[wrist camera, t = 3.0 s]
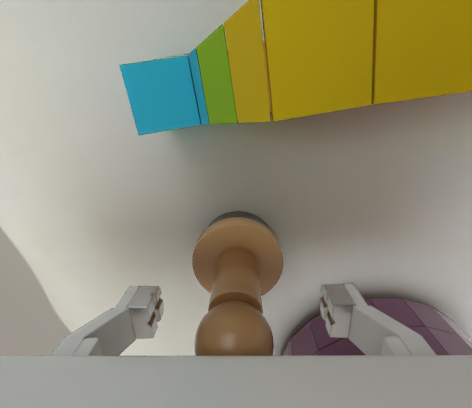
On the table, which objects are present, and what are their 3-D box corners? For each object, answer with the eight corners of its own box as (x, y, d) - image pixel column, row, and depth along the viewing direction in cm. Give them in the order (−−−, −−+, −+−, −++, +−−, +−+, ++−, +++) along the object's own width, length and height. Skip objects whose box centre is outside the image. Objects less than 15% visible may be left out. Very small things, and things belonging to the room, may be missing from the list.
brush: (196, 206, 16) (143, 319, 8) (278, 206, 16) (318, 320, 8) (202, 275, 18) (164, 429, 10) (276, 275, 18) (306, 432, 9)
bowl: (281, 291, 19) (295, 362, 13) (483, 291, 18) (579, 365, 13) (275, 418, 23) (284, 505, 18) (434, 421, 23) (489, 512, 18)
